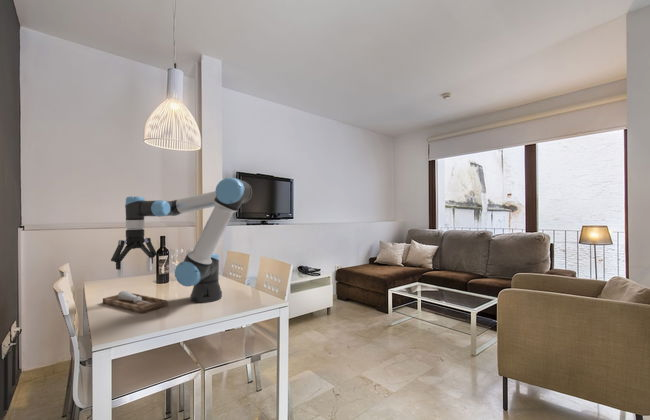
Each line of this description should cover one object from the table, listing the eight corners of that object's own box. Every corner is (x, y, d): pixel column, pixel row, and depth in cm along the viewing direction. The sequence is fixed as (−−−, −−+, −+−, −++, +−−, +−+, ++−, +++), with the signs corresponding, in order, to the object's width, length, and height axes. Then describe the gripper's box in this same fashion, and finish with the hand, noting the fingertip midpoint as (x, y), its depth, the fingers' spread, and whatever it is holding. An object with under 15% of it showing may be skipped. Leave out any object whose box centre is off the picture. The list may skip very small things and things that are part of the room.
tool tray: (167, 305, 141) (167, 300, 141) (142, 313, 130) (142, 307, 130) (128, 297, 154) (128, 292, 154) (102, 303, 143) (102, 298, 143)
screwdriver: (147, 311, 135) (145, 302, 134) (116, 300, 146) (114, 292, 145) (157, 305, 139) (155, 297, 138) (126, 295, 150) (124, 288, 149)
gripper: (154, 227, 155) (155, 268, 155) (101, 230, 132) (101, 278, 132) (164, 227, 151) (164, 269, 151) (111, 230, 129) (111, 279, 129)
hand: (135, 273), depth 142 cm, fingers open, 13 cm apart
